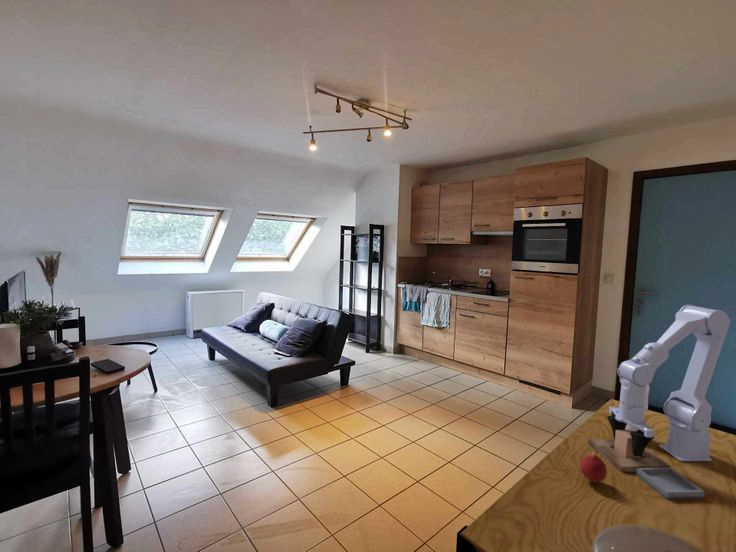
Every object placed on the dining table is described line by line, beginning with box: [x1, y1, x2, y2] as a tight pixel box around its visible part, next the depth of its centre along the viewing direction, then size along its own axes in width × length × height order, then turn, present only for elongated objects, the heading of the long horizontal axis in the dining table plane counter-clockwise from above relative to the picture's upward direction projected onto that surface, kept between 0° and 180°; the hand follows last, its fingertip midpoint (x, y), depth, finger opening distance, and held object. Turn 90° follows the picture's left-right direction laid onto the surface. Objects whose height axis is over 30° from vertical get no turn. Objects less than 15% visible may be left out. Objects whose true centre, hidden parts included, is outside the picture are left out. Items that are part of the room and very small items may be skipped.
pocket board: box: [587, 438, 672, 473], centre depth 108 cm, size 14×14×2 cm
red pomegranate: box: [580, 452, 608, 484], centre depth 96 cm, size 6×6×8 cm
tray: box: [635, 467, 706, 500], centre depth 96 cm, size 10×10×2 cm
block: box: [614, 430, 641, 458], centre depth 108 cm, size 4×4×7 cm
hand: (627, 448), depth 108 cm, fingers open, 7 cm apart
